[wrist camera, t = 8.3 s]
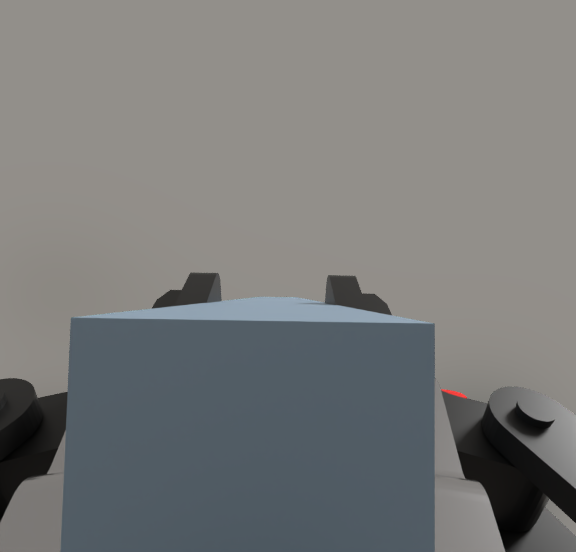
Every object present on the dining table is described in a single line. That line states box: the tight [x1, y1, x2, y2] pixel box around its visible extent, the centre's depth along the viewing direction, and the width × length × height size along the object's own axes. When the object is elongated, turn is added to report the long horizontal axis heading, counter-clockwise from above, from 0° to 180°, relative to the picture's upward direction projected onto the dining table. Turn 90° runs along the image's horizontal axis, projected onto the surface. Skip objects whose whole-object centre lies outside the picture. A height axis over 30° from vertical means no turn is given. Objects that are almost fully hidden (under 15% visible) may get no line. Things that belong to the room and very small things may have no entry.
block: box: [60, 297, 435, 552], centre depth 17 cm, size 28×3×3 cm, turn 1°
